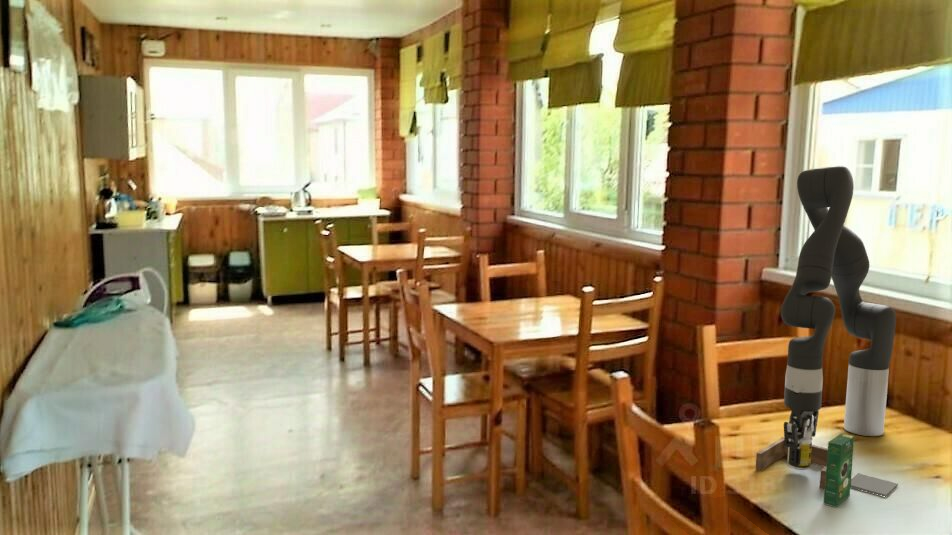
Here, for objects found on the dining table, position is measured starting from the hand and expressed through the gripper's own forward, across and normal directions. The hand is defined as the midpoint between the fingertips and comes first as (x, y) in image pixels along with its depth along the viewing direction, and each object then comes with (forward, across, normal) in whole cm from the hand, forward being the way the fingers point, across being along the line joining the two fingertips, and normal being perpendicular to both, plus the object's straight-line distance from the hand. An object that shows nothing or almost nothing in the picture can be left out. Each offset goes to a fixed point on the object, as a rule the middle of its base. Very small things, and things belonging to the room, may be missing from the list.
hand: (799, 460), depth 171 cm
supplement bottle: (+2, 0, 0) cm, 2 cm away
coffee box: (+3, +8, +11) cm, 14 cm away
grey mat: (+3, -4, +14) cm, 15 cm away
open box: (+3, -3, 0) cm, 4 cm away
